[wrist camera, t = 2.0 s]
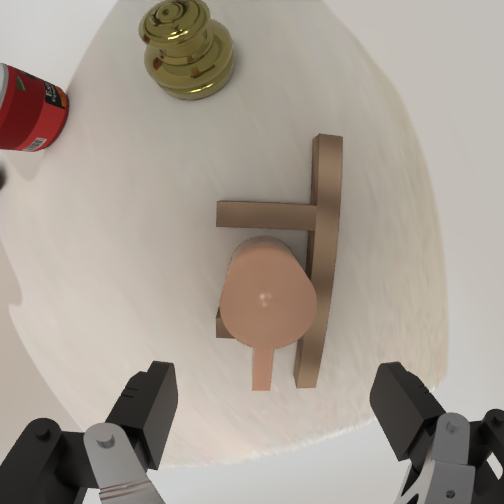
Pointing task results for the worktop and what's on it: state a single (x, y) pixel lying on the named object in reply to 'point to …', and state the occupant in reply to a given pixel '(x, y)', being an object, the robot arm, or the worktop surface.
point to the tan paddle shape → (266, 302)
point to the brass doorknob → (186, 49)
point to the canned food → (29, 110)
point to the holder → (319, 244)
